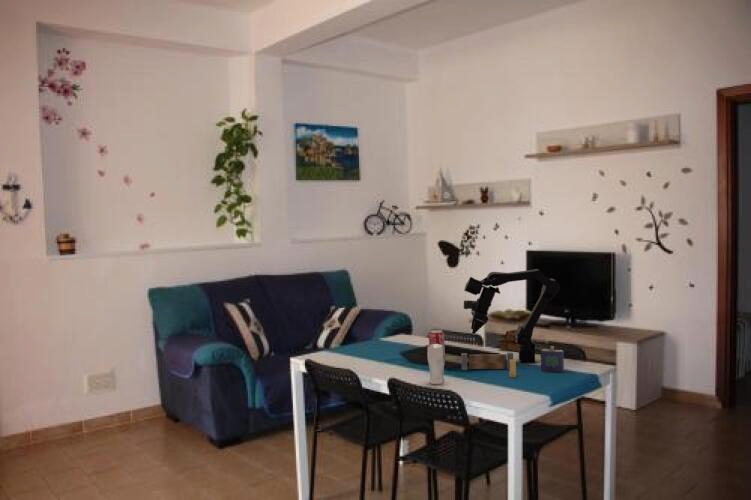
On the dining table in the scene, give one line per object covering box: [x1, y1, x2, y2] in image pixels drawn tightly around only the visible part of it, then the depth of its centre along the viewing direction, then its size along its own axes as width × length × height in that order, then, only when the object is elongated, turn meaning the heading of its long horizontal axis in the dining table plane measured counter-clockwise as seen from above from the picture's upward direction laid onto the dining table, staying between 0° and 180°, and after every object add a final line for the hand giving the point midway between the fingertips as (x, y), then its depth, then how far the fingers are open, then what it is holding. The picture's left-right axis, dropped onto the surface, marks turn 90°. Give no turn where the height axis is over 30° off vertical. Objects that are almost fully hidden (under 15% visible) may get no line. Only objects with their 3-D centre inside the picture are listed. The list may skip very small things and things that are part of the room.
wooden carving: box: [497, 329, 521, 352], centre depth 296 cm, size 16×5×10 cm, turn 76°
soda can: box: [428, 329, 446, 352], centre depth 292 cm, size 7×7×12 cm
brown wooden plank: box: [468, 353, 508, 370], centre depth 267 cm, size 16×2×6 cm, turn 84°
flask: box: [540, 345, 565, 373], centre depth 261 cm, size 9×3×11 cm, turn 74°
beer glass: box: [426, 344, 446, 386], centre depth 252 cm, size 7×7×15 cm
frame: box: [460, 352, 517, 378], centre depth 262 cm, size 22×13×7 cm, turn 84°
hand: (472, 331), depth 279 cm, fingers open, 9 cm apart
